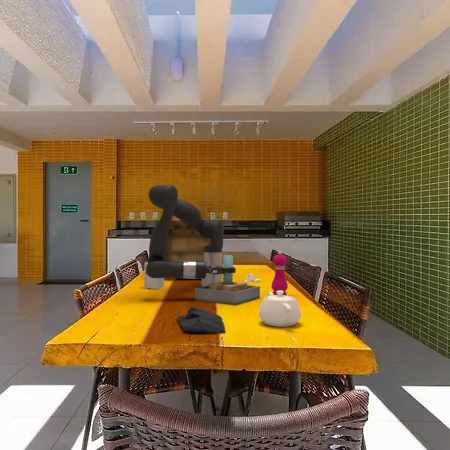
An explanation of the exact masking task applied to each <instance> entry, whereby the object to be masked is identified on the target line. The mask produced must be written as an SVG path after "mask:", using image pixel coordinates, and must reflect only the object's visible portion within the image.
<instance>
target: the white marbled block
mask: <svg viewBox="0 0 450 450" xmlns="http://www.w3.org/2000/svg"><path fill="white" fill-rule="evenodd" d="M147 264H148V261H146V262H144V268H143V269H144V272H143V275H144V277H143V280H144V281H143V286H144V287H143V288H144V289H148V288H150V289H151V290H160V289H163V287H165V278H151V277H149V276H148V275H147V273H146V266H147Z"/></svg>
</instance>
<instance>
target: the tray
mask: <svg viewBox="0 0 450 450" xmlns="http://www.w3.org/2000/svg"><path fill="white" fill-rule="evenodd" d="M260 298H261V286H259V285H249V284H247V289H245V290H241V291H237V292H230V291H221V290H212V289H208V285H207V286H202V285H201V286H198V287H195V288H194V301H198V302H199V301H200V302H207V303H215V304H216V303H217V304H222V305H231V306H238V305H242V304H244V303H248V302H251V301H255V300H258V299H260Z"/></svg>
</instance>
